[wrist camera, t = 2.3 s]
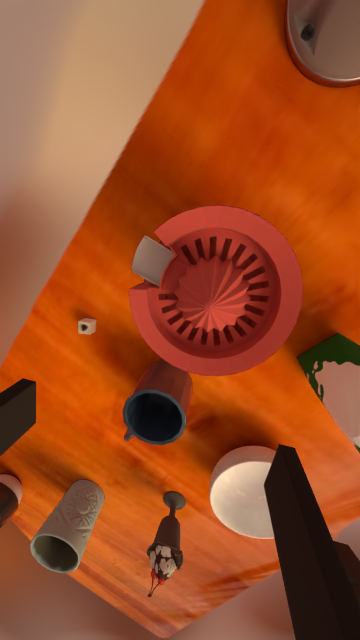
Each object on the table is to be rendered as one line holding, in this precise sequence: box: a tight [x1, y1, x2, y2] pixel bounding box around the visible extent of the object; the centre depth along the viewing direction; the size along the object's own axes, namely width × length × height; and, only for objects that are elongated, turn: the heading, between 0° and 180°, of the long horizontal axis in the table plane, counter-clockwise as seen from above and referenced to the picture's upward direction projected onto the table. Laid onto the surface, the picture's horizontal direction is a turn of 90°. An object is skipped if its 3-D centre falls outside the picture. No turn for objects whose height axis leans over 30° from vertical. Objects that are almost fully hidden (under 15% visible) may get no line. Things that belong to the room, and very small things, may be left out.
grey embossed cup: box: [30, 479, 105, 573], centre depth 50 cm, size 10×10×12 cm
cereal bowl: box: [209, 446, 276, 539], centre depth 43 cm, size 17×17×7 cm
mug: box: [123, 361, 192, 445], centre depth 40 cm, size 13×10×10 cm
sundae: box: [147, 492, 186, 598], centre depth 45 cm, size 7×7×15 cm
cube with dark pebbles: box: [78, 318, 96, 335], centre depth 42 cm, size 2×2×2 cm
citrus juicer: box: [129, 205, 303, 376], centre depth 28 cm, size 16×17×20 cm
